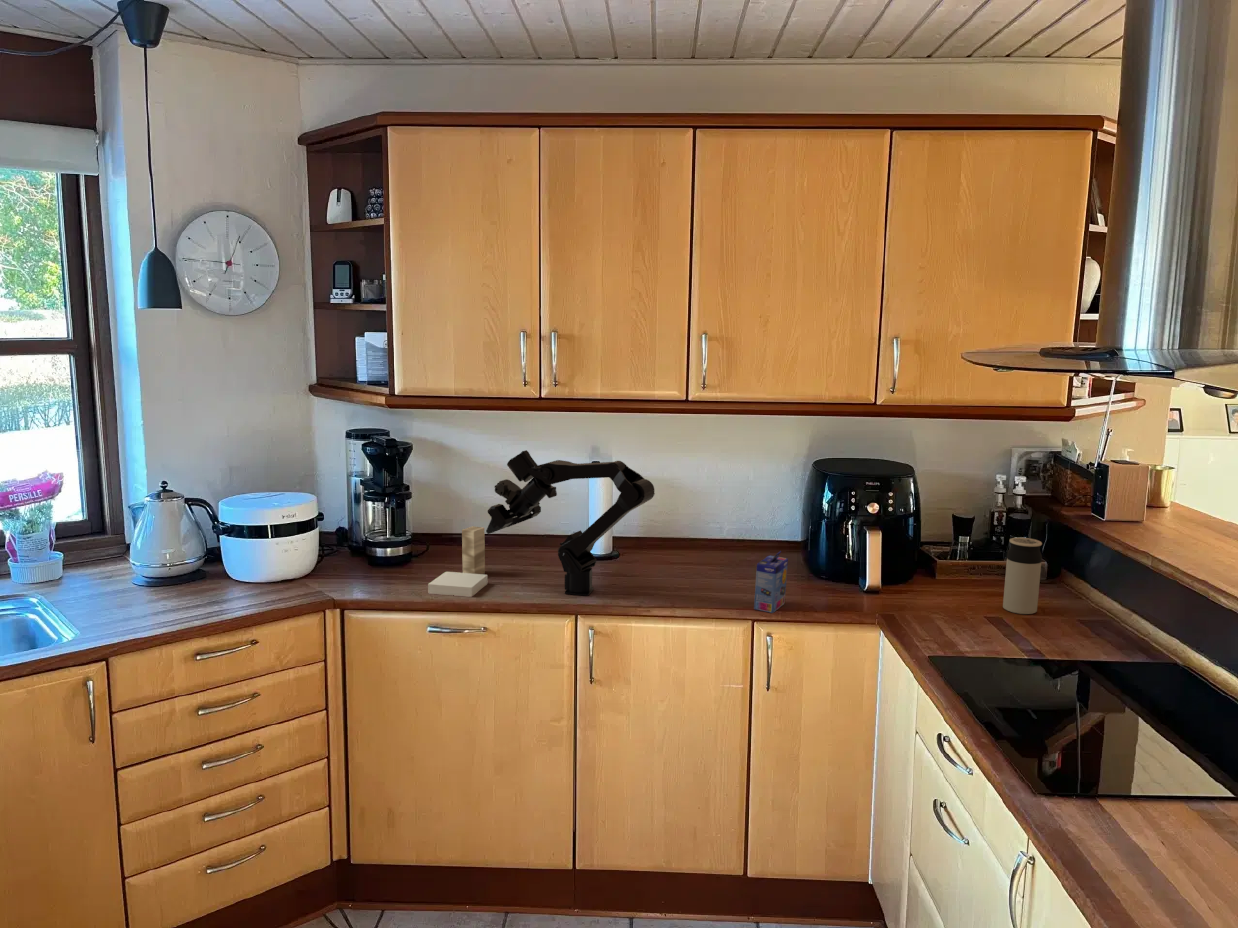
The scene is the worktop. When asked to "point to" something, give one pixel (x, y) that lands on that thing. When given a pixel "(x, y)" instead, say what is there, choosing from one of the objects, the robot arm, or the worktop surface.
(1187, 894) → the worktop surface
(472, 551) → the birch block
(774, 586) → the ink cartridge box
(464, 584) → the cream square slab
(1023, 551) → the travel mug
